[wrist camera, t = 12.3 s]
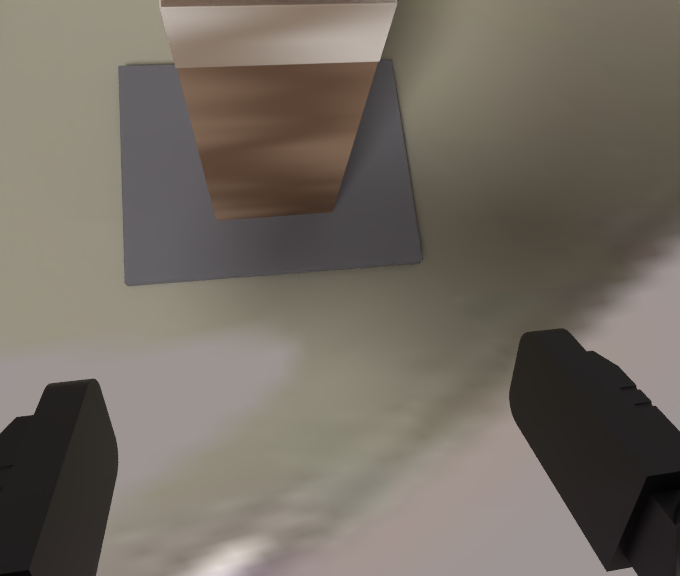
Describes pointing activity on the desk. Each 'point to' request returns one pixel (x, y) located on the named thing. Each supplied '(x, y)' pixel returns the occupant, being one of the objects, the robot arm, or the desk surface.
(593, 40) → the desk surface
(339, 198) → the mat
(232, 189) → the brown wooden block
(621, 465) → the robot arm
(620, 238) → the desk surface
